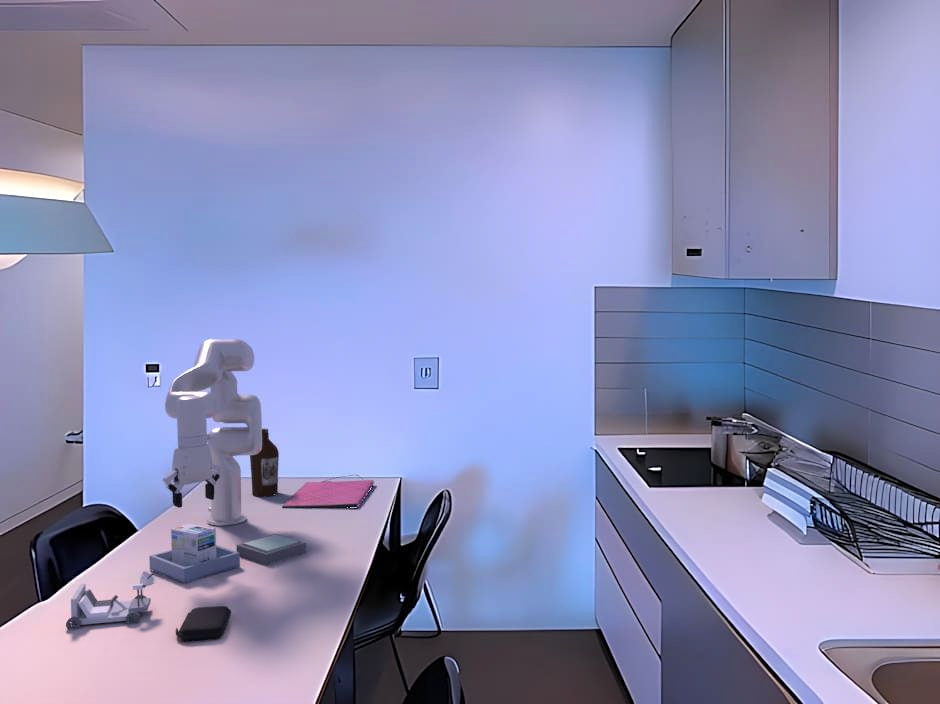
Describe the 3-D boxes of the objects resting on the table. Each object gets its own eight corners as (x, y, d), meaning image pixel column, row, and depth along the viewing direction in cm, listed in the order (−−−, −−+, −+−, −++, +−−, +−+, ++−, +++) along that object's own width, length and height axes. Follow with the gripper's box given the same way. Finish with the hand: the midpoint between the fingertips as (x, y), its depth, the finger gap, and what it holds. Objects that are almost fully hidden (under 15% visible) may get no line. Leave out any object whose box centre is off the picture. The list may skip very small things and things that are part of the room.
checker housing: (236, 555, 227) (236, 544, 226) (276, 543, 238) (275, 533, 237) (266, 565, 218) (266, 554, 218) (305, 552, 229) (305, 542, 229)
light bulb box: (217, 566, 215) (216, 527, 215) (198, 573, 209) (197, 533, 209) (190, 559, 220) (189, 522, 220) (170, 567, 215) (169, 528, 214)
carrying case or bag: (185, 618, 182) (171, 645, 167) (184, 605, 182) (171, 631, 167) (232, 615, 184) (223, 642, 169) (232, 602, 183) (222, 628, 169)
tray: (149, 570, 214) (149, 555, 214) (205, 554, 227) (204, 541, 227) (184, 584, 203) (183, 568, 203) (239, 566, 216) (239, 552, 216)
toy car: (157, 565, 190) (151, 581, 179) (158, 604, 190) (152, 623, 179) (76, 571, 185) (64, 588, 174) (77, 612, 186) (65, 631, 175)
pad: (243, 548, 227) (243, 543, 227) (275, 539, 235) (275, 534, 235) (267, 556, 220) (267, 550, 220) (298, 546, 228) (298, 541, 228)
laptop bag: (357, 499, 277) (281, 500, 279) (357, 510, 278) (282, 511, 279) (375, 474, 317) (309, 474, 318) (376, 483, 317) (310, 484, 319)
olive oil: (245, 493, 300) (244, 429, 298) (270, 489, 307) (269, 426, 305) (259, 498, 292) (258, 432, 290) (284, 494, 299) (283, 429, 298)
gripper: (212, 434, 222) (214, 493, 224) (155, 444, 209) (157, 507, 210) (227, 438, 217) (229, 498, 219) (170, 448, 204) (172, 512, 206)
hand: (194, 502), depth 215 cm, fingers open, 9 cm apart
